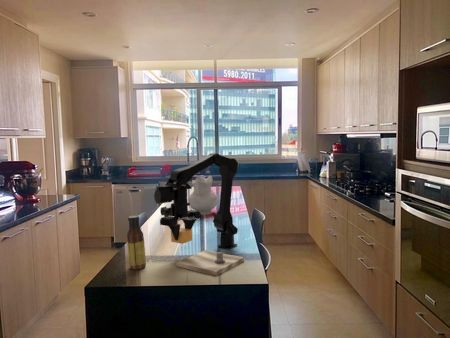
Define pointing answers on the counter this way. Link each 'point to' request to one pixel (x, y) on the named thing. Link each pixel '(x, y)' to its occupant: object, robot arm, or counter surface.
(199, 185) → the ceramic pitcher
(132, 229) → the sauce bottle
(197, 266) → the birch board
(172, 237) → the amber foam cube
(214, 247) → the counter surface
